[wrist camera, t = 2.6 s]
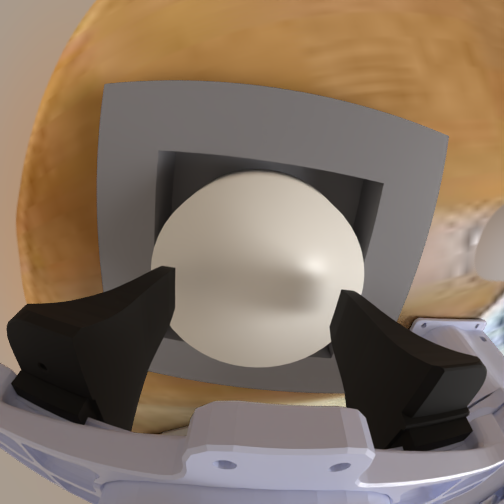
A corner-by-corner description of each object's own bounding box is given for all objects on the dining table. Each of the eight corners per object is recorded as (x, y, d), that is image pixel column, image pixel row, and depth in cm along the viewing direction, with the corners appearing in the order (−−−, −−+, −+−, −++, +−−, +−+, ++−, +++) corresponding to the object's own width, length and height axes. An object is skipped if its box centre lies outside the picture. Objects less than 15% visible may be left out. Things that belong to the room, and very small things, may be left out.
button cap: (364, 186, 14) (388, 199, 11) (322, 339, 18) (331, 373, 15) (175, 159, 14) (152, 165, 11) (170, 319, 18) (155, 352, 15)
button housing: (418, 134, 15) (448, 136, 12) (351, 362, 22) (360, 393, 18) (132, 91, 14) (104, 84, 11) (132, 334, 21) (116, 362, 18)
